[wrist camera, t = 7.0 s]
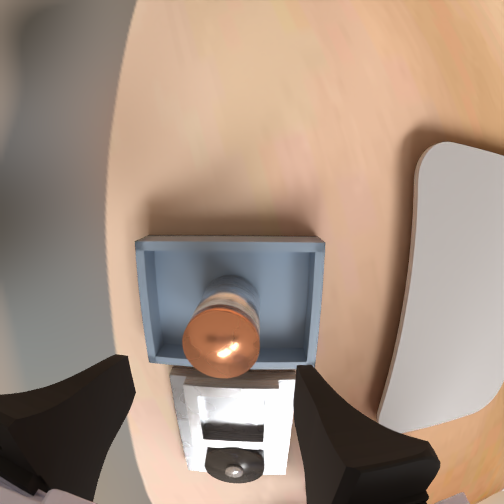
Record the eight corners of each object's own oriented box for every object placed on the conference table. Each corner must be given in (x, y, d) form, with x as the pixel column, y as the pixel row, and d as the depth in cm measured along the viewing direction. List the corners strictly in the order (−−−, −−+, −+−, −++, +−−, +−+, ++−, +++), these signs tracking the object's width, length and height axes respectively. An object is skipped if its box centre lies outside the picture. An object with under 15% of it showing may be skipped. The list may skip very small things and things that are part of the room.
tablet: (365, 423, 25) (371, 438, 22) (403, 139, 19) (417, 135, 17) (482, 396, 24) (492, 406, 22) (528, 169, 19) (543, 169, 17)
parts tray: (317, 236, 21) (325, 242, 18) (309, 351, 22) (314, 368, 20) (148, 235, 21) (134, 241, 18) (158, 346, 23) (149, 362, 20)
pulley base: (295, 371, 23) (299, 396, 20) (284, 466, 26) (286, 489, 22) (173, 366, 23) (162, 390, 20) (190, 462, 26) (185, 484, 23)
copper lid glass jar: (260, 275, 21) (260, 312, 14) (259, 328, 22) (258, 379, 15) (202, 274, 21) (179, 310, 14) (204, 326, 22) (185, 375, 15)
